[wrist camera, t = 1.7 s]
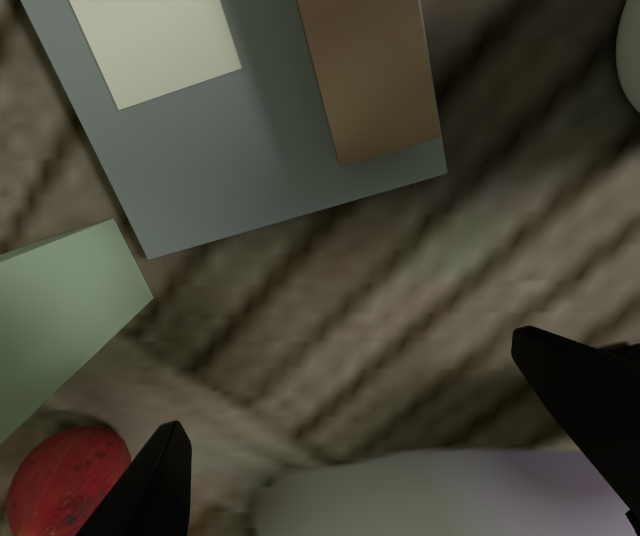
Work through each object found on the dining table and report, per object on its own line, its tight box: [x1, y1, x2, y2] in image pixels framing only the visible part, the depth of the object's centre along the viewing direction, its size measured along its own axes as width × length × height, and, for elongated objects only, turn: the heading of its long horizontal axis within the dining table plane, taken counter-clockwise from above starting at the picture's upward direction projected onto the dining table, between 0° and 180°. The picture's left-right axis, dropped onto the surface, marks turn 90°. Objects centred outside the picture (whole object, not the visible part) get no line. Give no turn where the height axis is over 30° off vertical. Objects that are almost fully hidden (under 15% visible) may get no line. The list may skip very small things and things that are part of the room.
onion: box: [6, 426, 131, 536], centre depth 21 cm, size 6×6×8 cm
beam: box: [295, 0, 440, 167], centre depth 13 cm, size 10×4×3 cm, turn 16°
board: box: [21, 0, 448, 260], centre depth 16 cm, size 14×16×1 cm
